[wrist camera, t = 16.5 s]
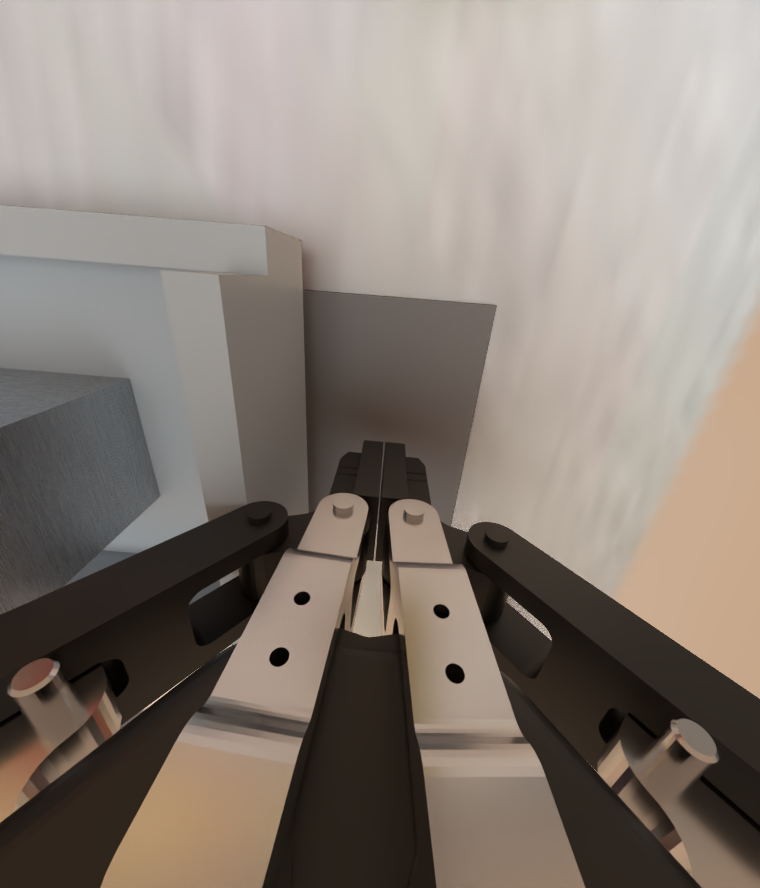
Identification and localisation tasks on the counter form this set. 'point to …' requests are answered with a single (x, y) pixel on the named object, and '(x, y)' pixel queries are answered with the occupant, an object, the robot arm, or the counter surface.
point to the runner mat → (392, 383)
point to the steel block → (65, 476)
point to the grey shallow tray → (171, 351)
